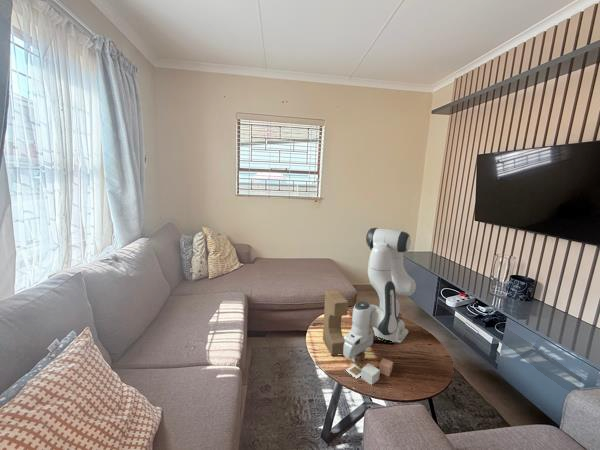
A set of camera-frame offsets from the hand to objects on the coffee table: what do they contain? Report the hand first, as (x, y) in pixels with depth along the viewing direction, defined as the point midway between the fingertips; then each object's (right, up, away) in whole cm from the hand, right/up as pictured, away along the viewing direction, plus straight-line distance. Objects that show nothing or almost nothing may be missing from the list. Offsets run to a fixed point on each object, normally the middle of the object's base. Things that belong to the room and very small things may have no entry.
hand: (357, 358), depth 140 cm
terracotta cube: (+12, -3, -6) cm, 14 cm away
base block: (+3, -4, -11) cm, 12 cm away
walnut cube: (0, -2, 0) cm, 2 cm away
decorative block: (-11, +1, +12) cm, 16 cm away
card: (-3, -3, -7) cm, 8 cm away
